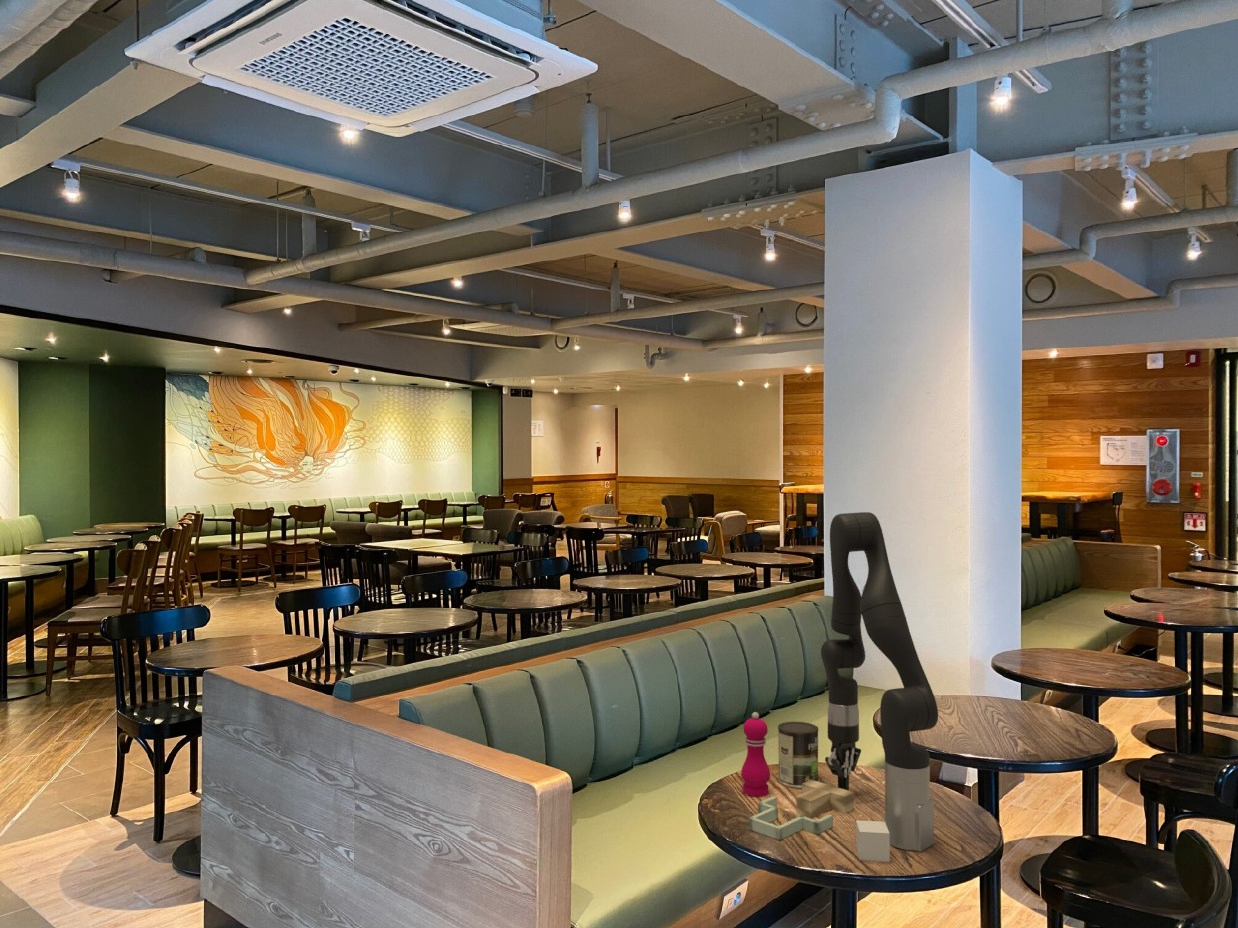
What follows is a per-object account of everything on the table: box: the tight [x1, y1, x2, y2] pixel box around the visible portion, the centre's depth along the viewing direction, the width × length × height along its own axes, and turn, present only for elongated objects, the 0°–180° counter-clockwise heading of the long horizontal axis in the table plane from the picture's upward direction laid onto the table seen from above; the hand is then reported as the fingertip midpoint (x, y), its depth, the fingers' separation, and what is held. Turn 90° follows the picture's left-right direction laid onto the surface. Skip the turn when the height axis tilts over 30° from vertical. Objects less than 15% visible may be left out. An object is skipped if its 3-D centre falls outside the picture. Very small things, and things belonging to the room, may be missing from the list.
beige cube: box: [855, 819, 891, 863], centre depth 186 cm, size 6×6×6 cm
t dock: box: [748, 795, 834, 841], centre depth 201 cm, size 16×15×2 cm
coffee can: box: [777, 721, 819, 789], centre depth 229 cm, size 10×10×14 cm
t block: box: [795, 780, 855, 819], centre depth 211 cm, size 12×12×4 cm
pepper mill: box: [740, 711, 771, 797], centre depth 222 cm, size 7×7×20 cm
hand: (843, 790), depth 218 cm, fingers closed
